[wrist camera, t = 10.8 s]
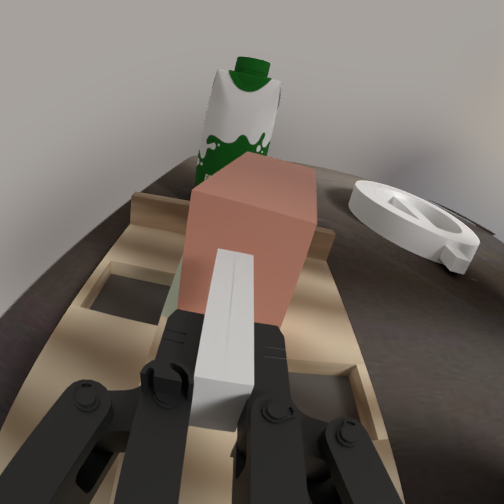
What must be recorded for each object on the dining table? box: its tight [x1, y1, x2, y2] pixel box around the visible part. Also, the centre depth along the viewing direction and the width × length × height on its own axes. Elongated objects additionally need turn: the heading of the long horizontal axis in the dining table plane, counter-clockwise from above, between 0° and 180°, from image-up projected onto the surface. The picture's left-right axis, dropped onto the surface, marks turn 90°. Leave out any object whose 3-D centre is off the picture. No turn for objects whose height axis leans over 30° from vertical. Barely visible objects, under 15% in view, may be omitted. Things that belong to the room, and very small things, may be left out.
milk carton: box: [195, 57, 282, 187], centre depth 38 cm, size 9×9×20 cm
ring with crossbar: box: [348, 181, 480, 275], centre depth 54 cm, size 28×28×5 cm
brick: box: [177, 152, 317, 329], centre depth 22 cm, size 13×6×9 cm, turn 169°
